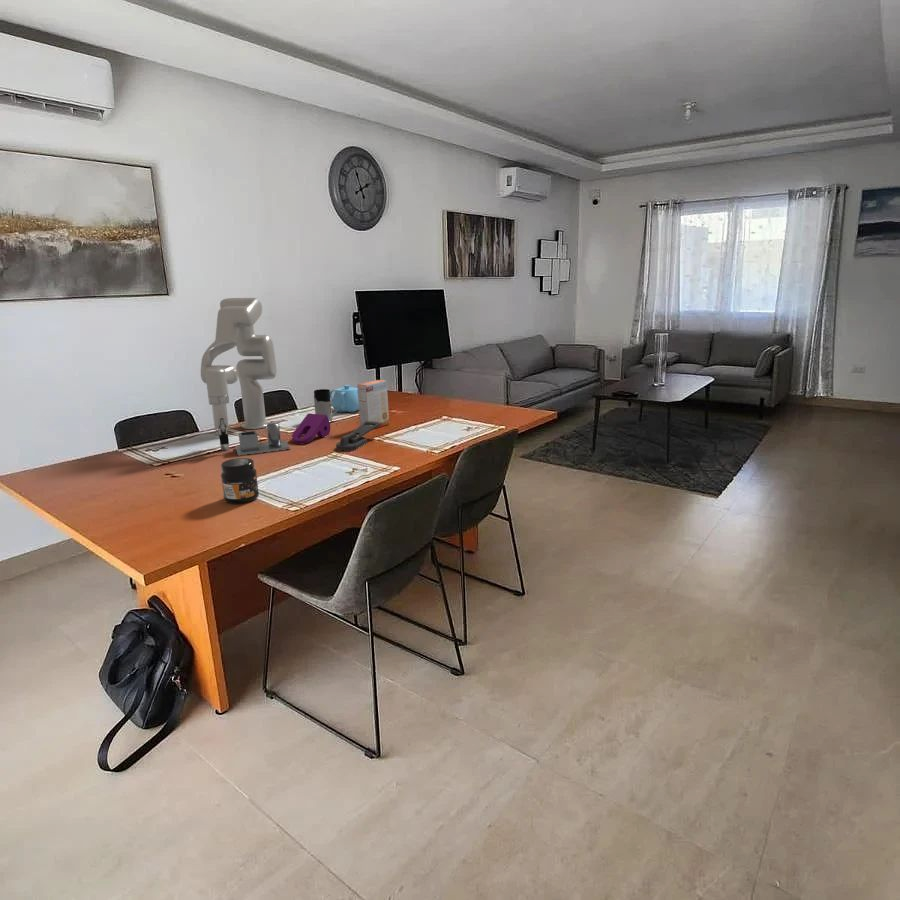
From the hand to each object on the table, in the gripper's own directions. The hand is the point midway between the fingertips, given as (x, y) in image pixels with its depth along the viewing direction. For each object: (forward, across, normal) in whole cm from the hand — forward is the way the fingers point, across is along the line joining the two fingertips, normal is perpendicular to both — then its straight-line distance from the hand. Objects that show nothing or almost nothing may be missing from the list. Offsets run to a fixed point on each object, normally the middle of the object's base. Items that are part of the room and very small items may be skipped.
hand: (223, 441), depth 241 cm
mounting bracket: (+4, -2, +35) cm, 35 cm away
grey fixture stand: (+4, +6, +14) cm, 16 cm away
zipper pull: (+4, +15, +52) cm, 54 cm away
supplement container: (+4, +63, +1) cm, 63 cm away
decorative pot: (+3, -51, +64) cm, 82 cm away
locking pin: (+4, 0, 0) cm, 4 cm away
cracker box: (+4, -10, +66) cm, 67 cm away
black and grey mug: (+4, -32, +50) cm, 60 cm away
